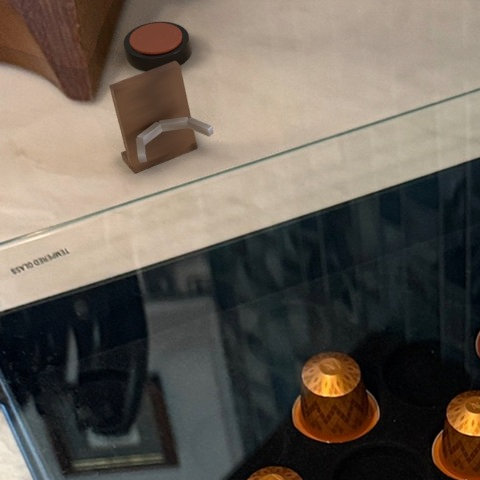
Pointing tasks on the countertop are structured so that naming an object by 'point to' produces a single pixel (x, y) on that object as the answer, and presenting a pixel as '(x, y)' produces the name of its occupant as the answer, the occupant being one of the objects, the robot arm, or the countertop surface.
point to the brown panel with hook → (155, 117)
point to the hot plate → (157, 45)
